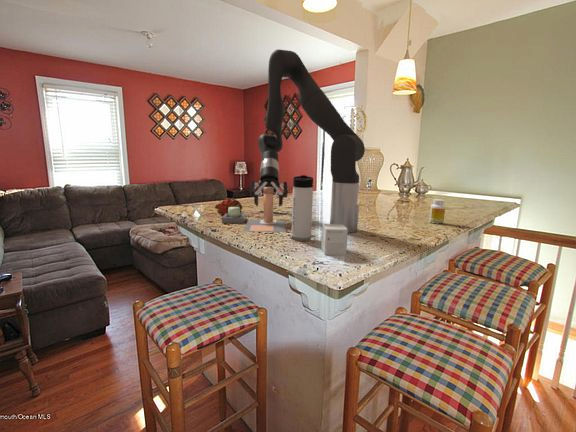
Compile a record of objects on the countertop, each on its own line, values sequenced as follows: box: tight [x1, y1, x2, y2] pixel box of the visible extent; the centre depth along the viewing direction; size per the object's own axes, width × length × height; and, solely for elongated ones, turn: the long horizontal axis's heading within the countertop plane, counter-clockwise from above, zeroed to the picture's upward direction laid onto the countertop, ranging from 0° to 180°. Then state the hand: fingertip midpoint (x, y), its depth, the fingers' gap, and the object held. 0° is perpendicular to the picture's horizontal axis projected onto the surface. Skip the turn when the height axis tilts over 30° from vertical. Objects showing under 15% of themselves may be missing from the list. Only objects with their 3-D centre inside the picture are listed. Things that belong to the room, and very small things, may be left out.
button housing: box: [221, 213, 247, 224], centre depth 117 cm, size 8×8×3 cm
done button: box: [228, 207, 241, 217], centre depth 117 cm, size 4×4×4 cm
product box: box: [320, 223, 349, 256], centre depth 86 cm, size 6×6×7 cm
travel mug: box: [291, 174, 314, 242], centre depth 97 cm, size 6×7×20 cm
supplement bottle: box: [428, 198, 446, 224], centre depth 126 cm, size 5×5×10 cm
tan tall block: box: [263, 187, 275, 223], centre depth 116 cm, size 4×4×13 cm
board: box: [243, 219, 286, 233], centre depth 111 cm, size 14×18×1 cm
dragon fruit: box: [214, 197, 243, 215], centre depth 130 cm, size 8×8×12 cm
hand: (268, 204), depth 115 cm, fingers open, 8 cm apart
